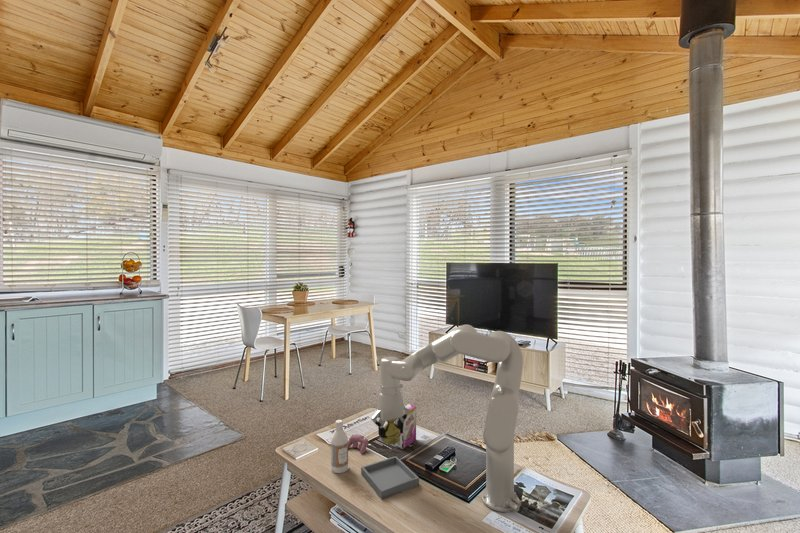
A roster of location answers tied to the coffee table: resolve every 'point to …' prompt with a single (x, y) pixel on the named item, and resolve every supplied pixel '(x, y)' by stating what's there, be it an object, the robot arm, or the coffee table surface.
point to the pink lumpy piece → (358, 438)
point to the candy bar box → (408, 428)
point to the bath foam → (339, 449)
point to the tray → (389, 477)
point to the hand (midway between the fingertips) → (391, 433)
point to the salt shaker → (391, 432)
